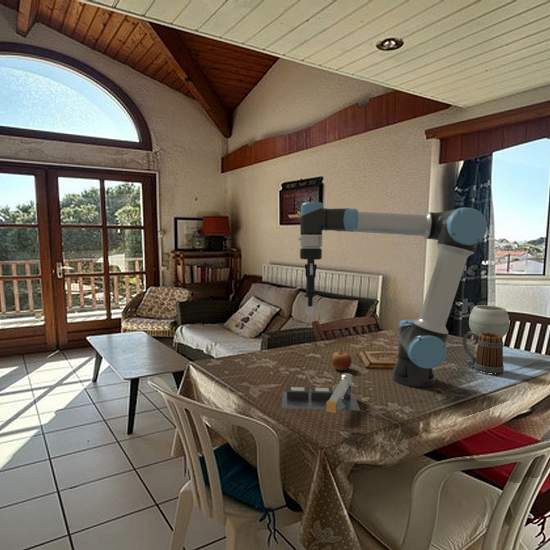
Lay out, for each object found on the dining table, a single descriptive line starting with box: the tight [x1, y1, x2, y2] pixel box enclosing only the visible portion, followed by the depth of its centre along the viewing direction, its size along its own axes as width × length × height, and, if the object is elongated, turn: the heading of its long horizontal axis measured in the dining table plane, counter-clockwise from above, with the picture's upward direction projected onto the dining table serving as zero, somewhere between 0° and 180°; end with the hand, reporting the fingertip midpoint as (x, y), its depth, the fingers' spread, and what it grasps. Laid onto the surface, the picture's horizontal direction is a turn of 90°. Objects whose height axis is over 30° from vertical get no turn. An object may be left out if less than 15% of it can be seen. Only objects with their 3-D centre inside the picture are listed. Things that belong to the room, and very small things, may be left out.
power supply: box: [310, 386, 334, 400], centre depth 130 cm, size 7×5×2 cm
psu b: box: [286, 385, 309, 400], centre depth 130 cm, size 7×5×2 cm
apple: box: [331, 349, 352, 371], centre depth 160 cm, size 8×8×8 cm
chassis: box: [281, 386, 361, 412], centre depth 127 cm, size 24×13×5 cm, turn 87°
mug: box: [462, 331, 505, 375], centre depth 161 cm, size 16×11×15 cm
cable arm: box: [325, 372, 353, 414], centre depth 120 cm, size 24×4×3 cm, turn 159°
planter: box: [468, 304, 510, 352], centre depth 179 cm, size 16×16×22 cm
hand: (309, 314), depth 139 cm, fingers closed
